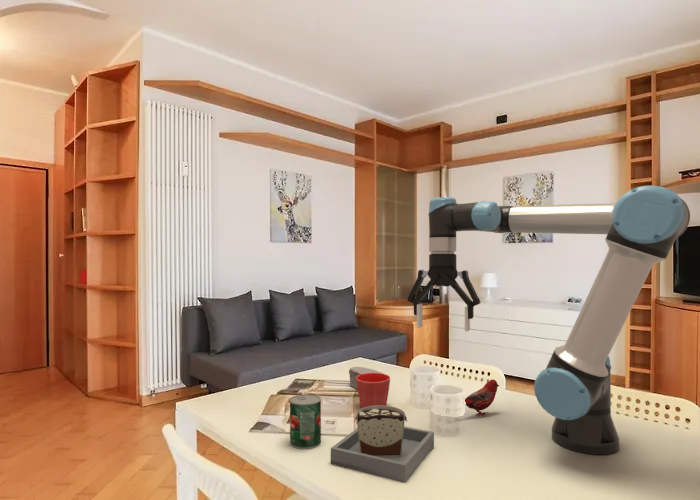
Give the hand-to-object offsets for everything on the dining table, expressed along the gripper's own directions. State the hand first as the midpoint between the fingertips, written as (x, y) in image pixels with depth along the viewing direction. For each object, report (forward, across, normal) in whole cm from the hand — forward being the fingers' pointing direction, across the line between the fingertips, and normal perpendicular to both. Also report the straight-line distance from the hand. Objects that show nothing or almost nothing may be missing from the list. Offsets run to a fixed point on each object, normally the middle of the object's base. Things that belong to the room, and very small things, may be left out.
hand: (442, 328), depth 126 cm
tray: (+27, +7, +25) cm, 37 cm away
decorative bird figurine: (+27, -7, -11) cm, 30 cm away
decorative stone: (+27, +34, -20) cm, 47 cm away
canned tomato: (+27, +28, +28) cm, 48 cm away
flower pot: (+27, +23, -3) cm, 36 cm away
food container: (+26, +8, +26) cm, 37 cm away
